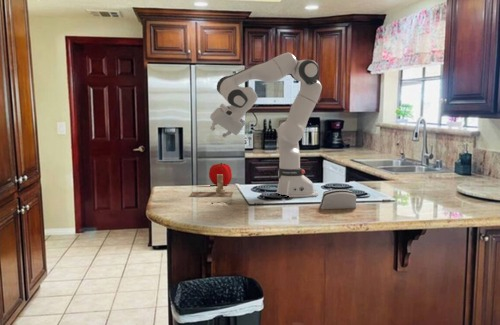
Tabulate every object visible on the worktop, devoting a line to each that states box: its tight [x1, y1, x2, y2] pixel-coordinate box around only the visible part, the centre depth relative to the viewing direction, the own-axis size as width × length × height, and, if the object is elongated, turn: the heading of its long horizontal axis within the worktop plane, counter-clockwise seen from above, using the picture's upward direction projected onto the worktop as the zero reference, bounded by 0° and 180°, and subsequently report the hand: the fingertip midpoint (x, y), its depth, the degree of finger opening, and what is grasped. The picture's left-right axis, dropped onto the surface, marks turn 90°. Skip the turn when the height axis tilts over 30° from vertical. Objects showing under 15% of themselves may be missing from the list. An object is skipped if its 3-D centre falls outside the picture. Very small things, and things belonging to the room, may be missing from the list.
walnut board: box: [188, 191, 234, 198], centre depth 224 cm, size 22×13×2 cm, turn 88°
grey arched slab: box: [319, 189, 357, 210], centre depth 199 cm, size 17×5×10 cm, turn 96°
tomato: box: [208, 162, 233, 187], centre depth 256 cm, size 16×14×14 cm
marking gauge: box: [215, 174, 226, 195], centre depth 225 cm, size 4×6×10 cm
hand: (217, 133), depth 227 cm, fingers open, 8 cm apart
